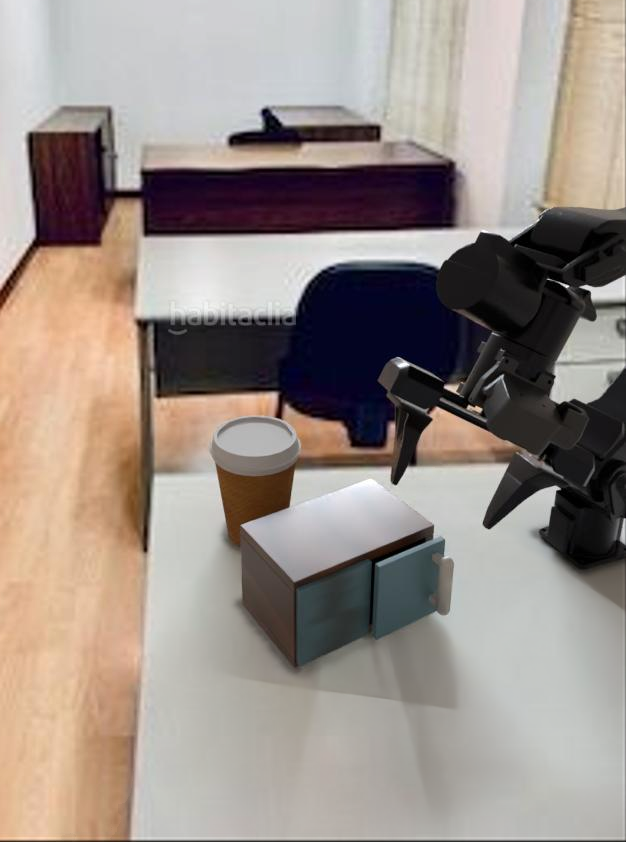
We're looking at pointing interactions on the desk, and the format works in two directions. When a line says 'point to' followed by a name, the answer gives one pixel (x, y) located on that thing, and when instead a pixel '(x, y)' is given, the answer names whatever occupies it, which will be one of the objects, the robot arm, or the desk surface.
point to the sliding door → (411, 587)
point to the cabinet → (323, 566)
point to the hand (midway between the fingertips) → (439, 505)
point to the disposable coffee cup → (254, 468)
